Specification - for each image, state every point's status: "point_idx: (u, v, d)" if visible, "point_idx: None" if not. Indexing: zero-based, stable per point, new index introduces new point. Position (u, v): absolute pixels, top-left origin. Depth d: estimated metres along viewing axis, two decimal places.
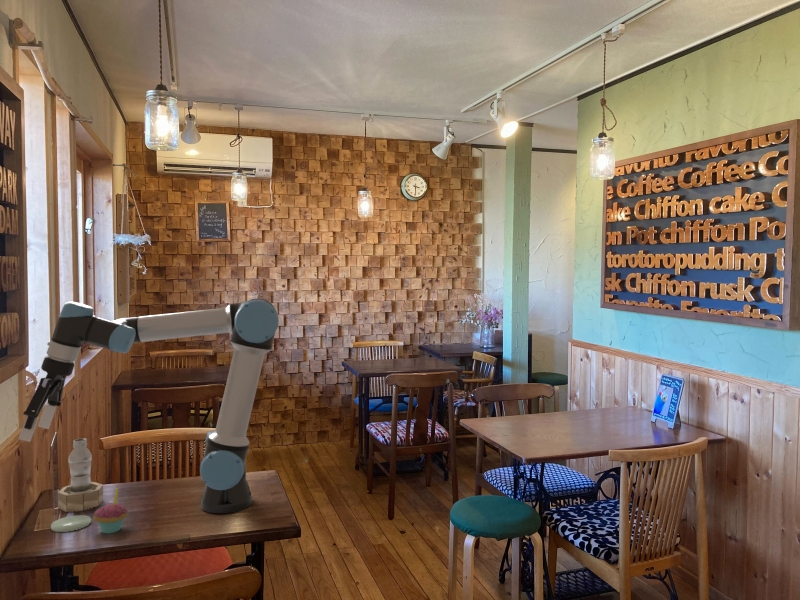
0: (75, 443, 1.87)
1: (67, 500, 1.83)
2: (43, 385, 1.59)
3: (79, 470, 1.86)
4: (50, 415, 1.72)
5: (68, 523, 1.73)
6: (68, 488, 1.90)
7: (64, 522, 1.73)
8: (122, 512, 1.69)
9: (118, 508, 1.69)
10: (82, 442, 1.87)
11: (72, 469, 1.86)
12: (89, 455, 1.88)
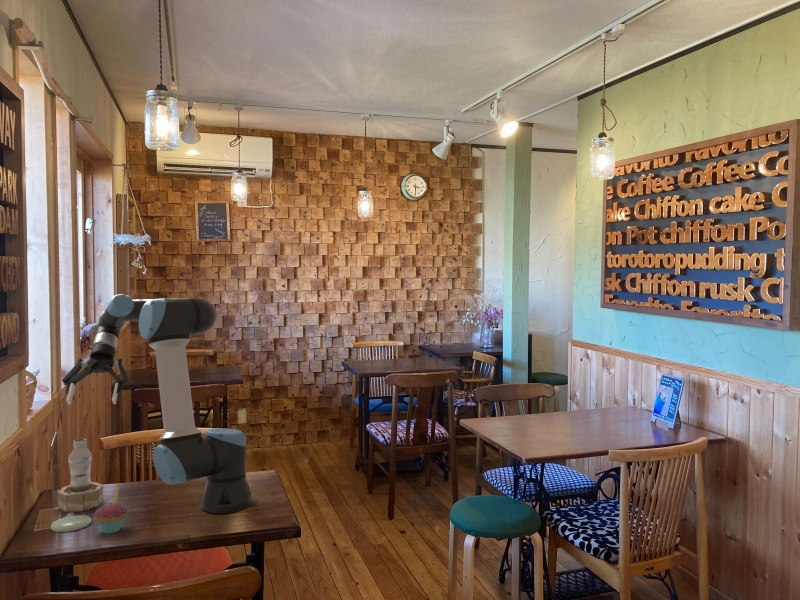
0: (75, 443, 1.87)
1: (67, 500, 1.83)
2: None
3: (79, 470, 1.86)
4: (114, 390, 2.02)
5: (68, 523, 1.73)
6: (68, 488, 1.90)
7: (64, 522, 1.73)
8: (122, 512, 1.69)
9: (118, 508, 1.69)
10: (82, 442, 1.87)
11: (72, 469, 1.86)
12: (89, 455, 1.88)
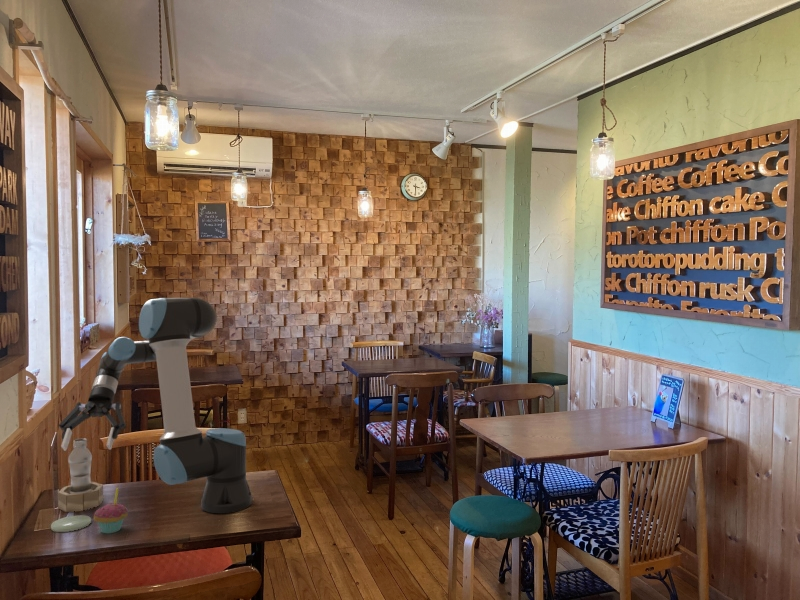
0: (75, 443, 1.87)
1: (67, 500, 1.83)
2: None
3: (79, 470, 1.86)
4: None
5: (68, 523, 1.73)
6: (68, 488, 1.90)
7: (64, 522, 1.73)
8: (123, 512, 1.69)
9: (118, 508, 1.69)
10: (82, 442, 1.87)
11: (72, 469, 1.86)
12: (89, 455, 1.88)
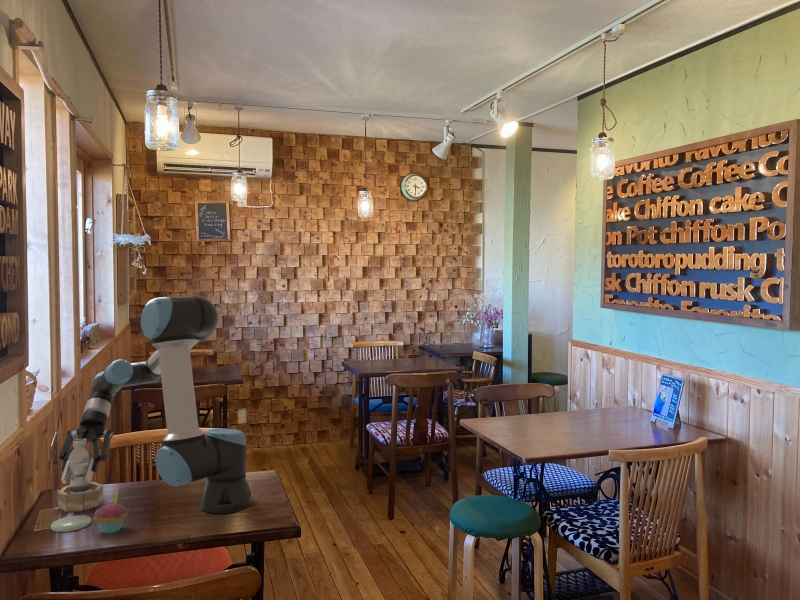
0: (75, 443, 1.87)
1: (67, 500, 1.83)
2: None
3: (79, 470, 1.86)
4: None
5: (68, 523, 1.73)
6: (68, 488, 1.90)
7: (64, 522, 1.73)
8: (122, 512, 1.69)
9: (118, 508, 1.69)
10: (82, 442, 1.87)
11: (72, 469, 1.86)
12: (89, 455, 1.88)
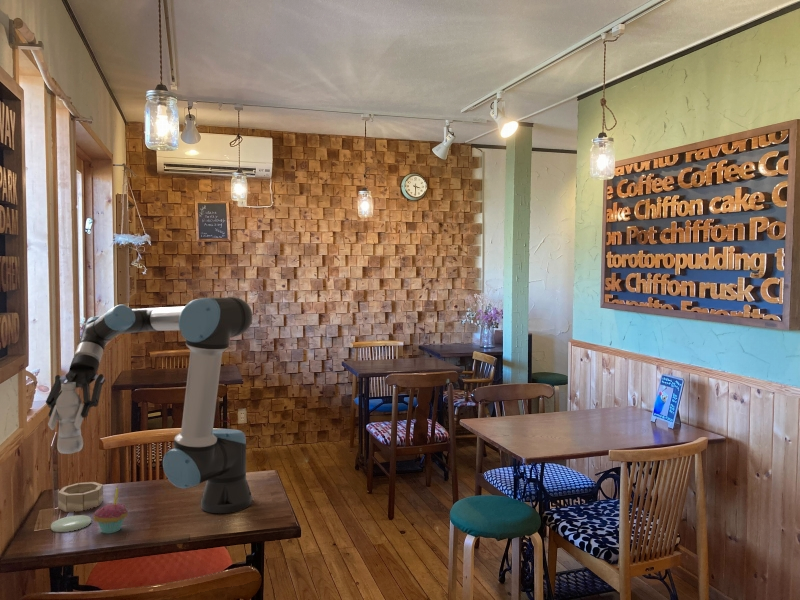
0: (63, 386, 1.73)
1: (67, 500, 1.83)
2: None
3: (67, 415, 1.72)
4: None
5: (68, 523, 1.73)
6: (68, 488, 1.90)
7: (64, 522, 1.73)
8: (122, 512, 1.69)
9: (118, 508, 1.69)
10: (70, 384, 1.73)
11: (60, 414, 1.72)
12: (78, 399, 1.74)
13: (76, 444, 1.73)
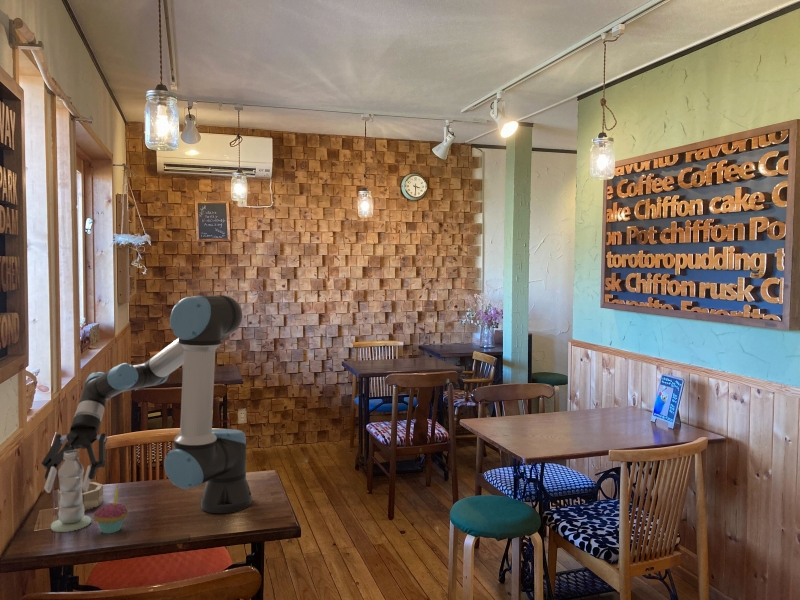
0: (65, 455, 1.71)
1: None
2: None
3: (69, 485, 1.70)
4: None
5: None
6: None
7: None
8: (123, 512, 1.69)
9: (118, 508, 1.69)
10: (73, 454, 1.72)
11: (62, 483, 1.70)
12: (81, 468, 1.73)
13: (77, 514, 1.72)
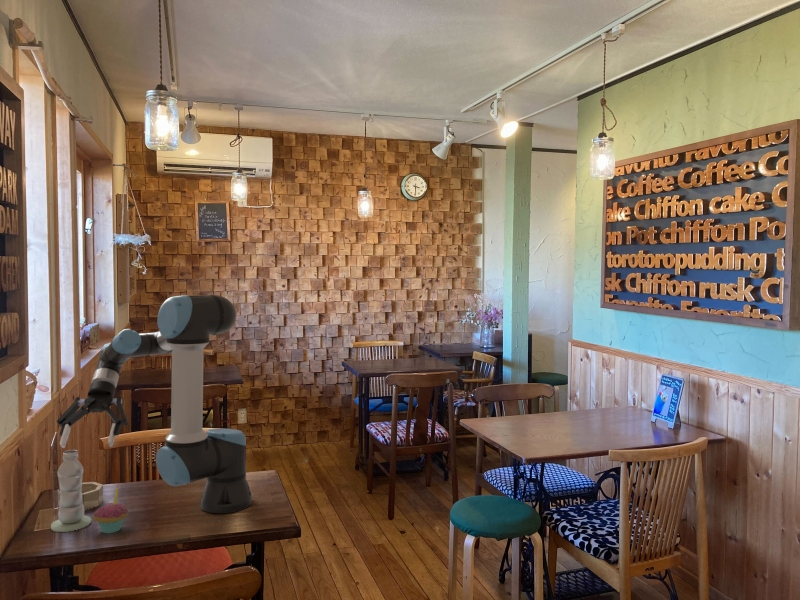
0: (65, 455, 1.71)
1: None
2: None
3: (69, 485, 1.71)
4: None
5: None
6: None
7: None
8: (122, 512, 1.69)
9: (118, 508, 1.69)
10: (72, 454, 1.72)
11: (61, 483, 1.70)
12: (80, 468, 1.73)
13: (77, 514, 1.72)
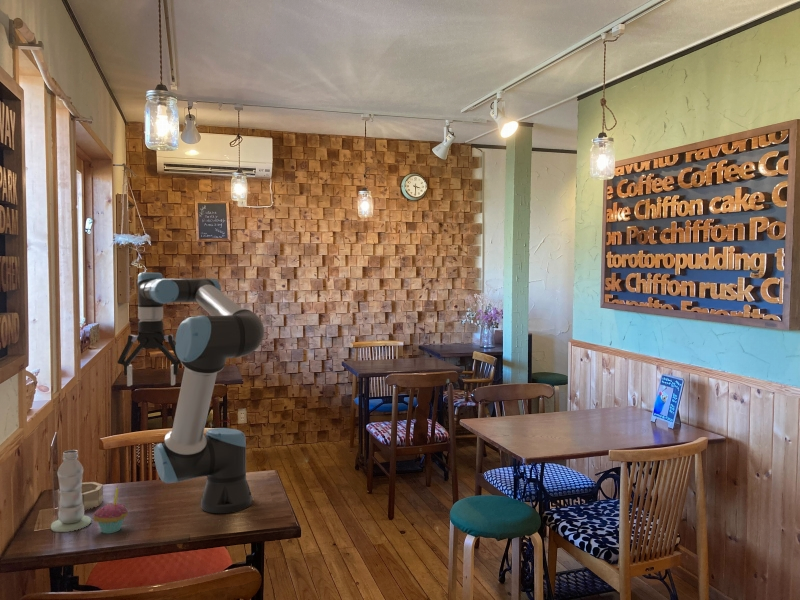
0: (65, 455, 1.71)
1: None
2: None
3: (69, 485, 1.71)
4: None
5: None
6: None
7: None
8: (123, 512, 1.69)
9: (118, 508, 1.69)
10: (72, 454, 1.72)
11: (61, 483, 1.70)
12: (80, 468, 1.73)
13: (77, 514, 1.72)
